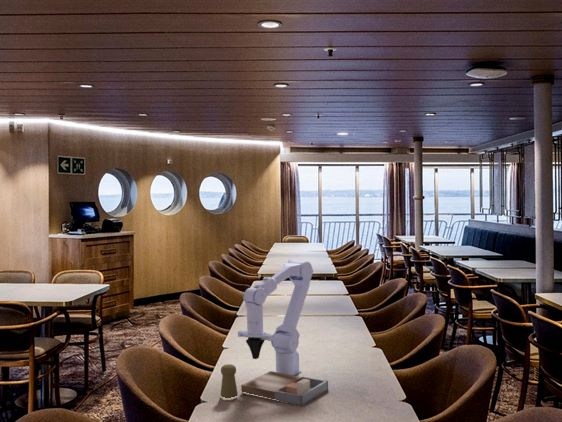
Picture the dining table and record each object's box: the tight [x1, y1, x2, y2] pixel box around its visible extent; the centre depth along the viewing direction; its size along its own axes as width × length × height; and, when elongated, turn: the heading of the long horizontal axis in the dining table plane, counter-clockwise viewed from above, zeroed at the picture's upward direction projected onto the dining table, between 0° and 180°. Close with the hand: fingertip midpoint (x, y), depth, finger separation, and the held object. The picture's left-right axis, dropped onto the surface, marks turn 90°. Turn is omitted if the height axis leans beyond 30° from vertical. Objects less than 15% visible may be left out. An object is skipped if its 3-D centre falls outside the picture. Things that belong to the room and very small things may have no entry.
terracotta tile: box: [286, 382, 297, 394], centre depth 191 cm, size 4×4×2 cm
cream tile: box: [297, 379, 310, 395], centre depth 189 cm, size 4×4×2 cm
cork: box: [220, 363, 239, 398], centre depth 189 cm, size 6×6×11 cm
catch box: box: [275, 376, 329, 407], centre depth 189 cm, size 18×10×3 cm, turn 147°
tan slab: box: [240, 371, 302, 399], centre depth 196 cm, size 18×14×3 cm
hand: (255, 358), depth 202 cm, fingers closed
